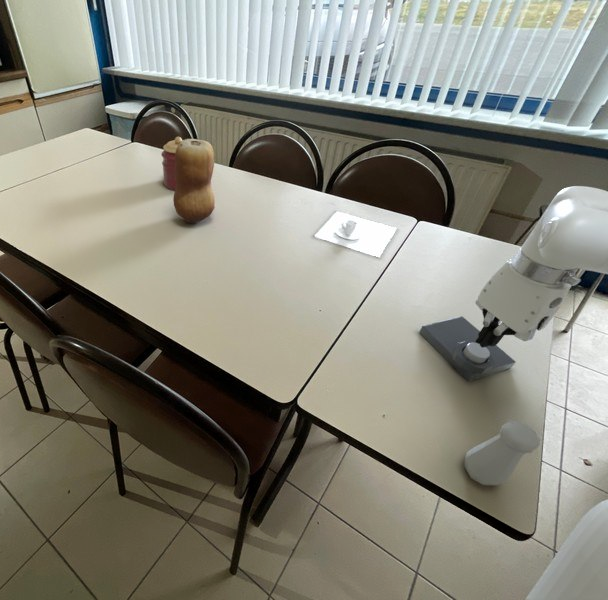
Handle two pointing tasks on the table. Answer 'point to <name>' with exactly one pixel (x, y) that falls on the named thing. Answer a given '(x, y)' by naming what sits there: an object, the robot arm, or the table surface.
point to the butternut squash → (194, 180)
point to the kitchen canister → (170, 162)
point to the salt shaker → (501, 453)
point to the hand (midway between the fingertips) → (484, 343)
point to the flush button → (476, 353)
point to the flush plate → (454, 339)
